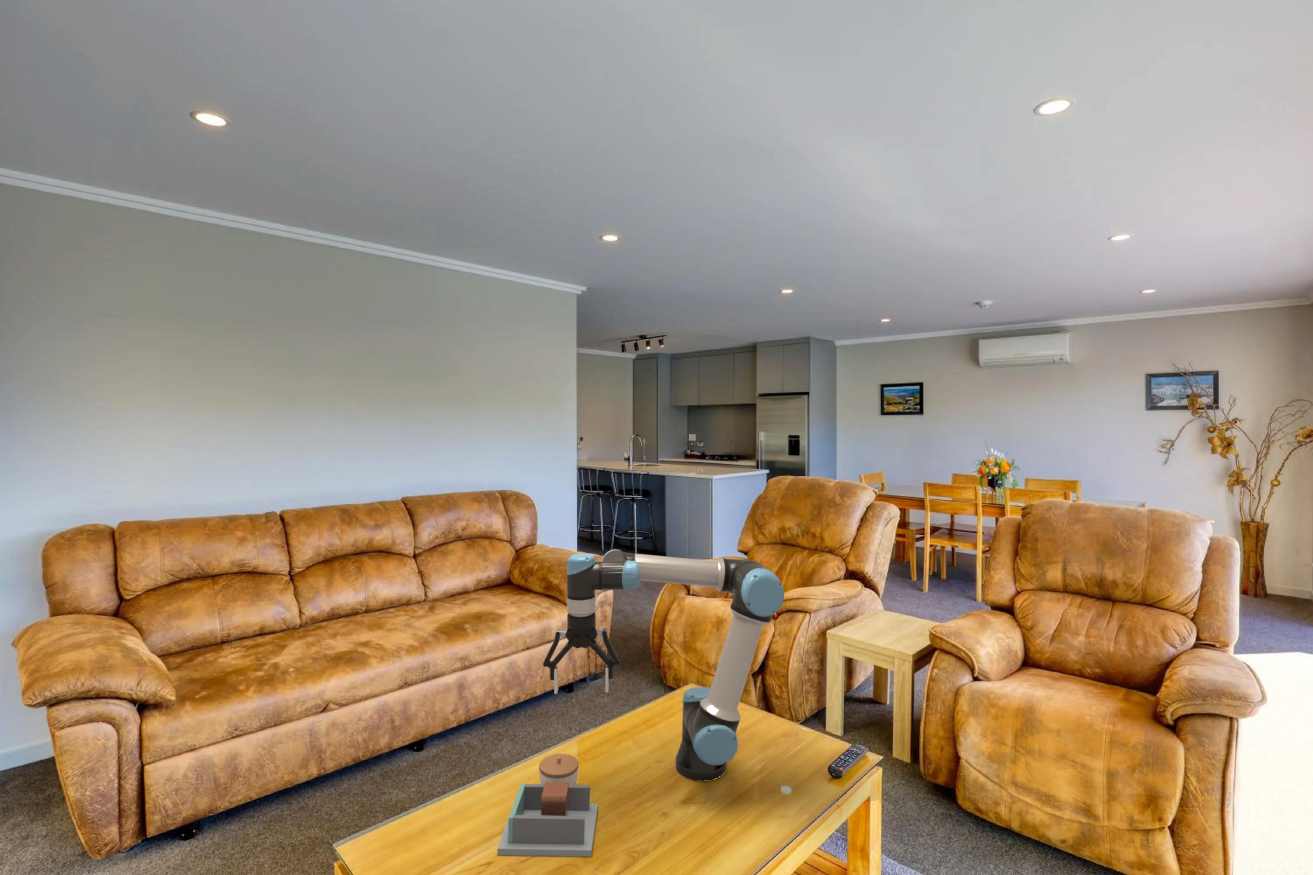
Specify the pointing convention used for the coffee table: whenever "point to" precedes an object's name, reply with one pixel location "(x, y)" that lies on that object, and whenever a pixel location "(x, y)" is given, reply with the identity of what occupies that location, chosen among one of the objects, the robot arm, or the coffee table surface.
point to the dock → (549, 825)
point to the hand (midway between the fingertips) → (581, 690)
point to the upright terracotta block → (555, 799)
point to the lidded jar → (559, 769)
